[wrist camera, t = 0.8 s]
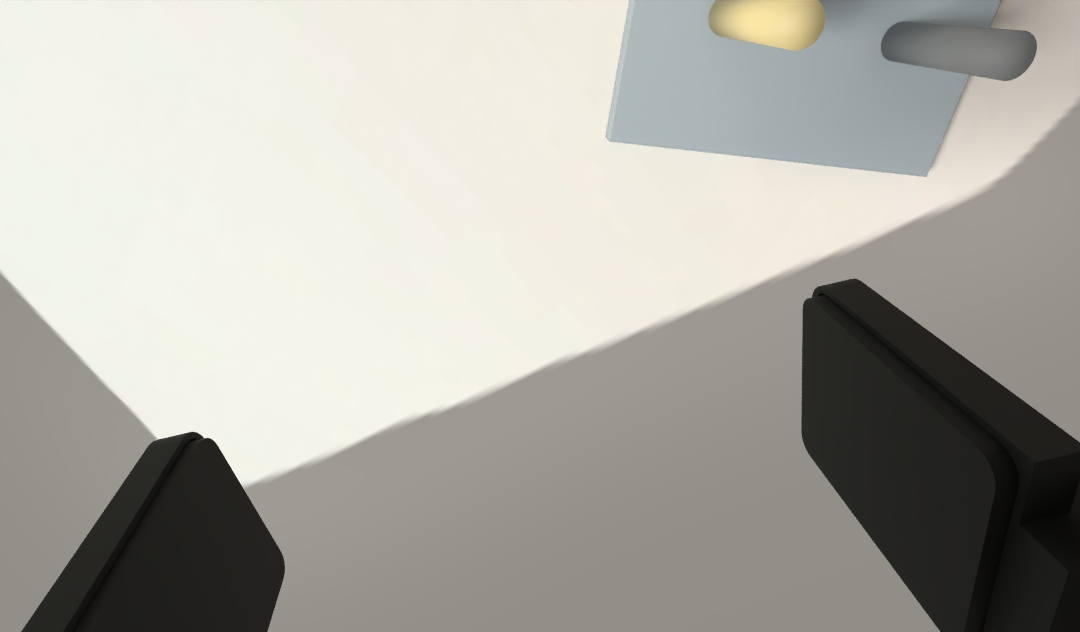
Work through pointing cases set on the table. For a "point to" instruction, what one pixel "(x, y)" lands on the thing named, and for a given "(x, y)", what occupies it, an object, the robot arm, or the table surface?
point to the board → (806, 77)
